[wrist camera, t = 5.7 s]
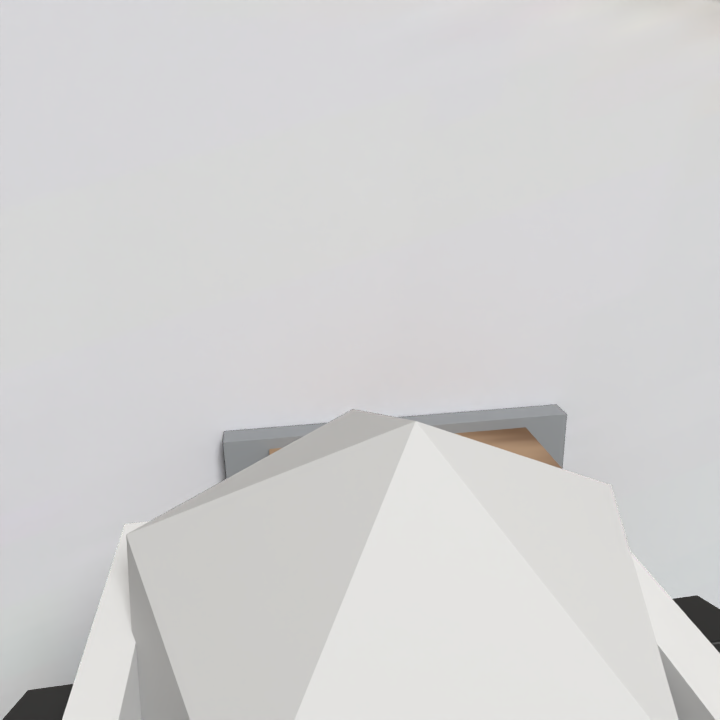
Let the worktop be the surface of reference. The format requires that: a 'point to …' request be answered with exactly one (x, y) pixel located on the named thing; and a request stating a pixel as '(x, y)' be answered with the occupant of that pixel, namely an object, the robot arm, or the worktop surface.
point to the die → (393, 588)
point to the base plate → (539, 420)
